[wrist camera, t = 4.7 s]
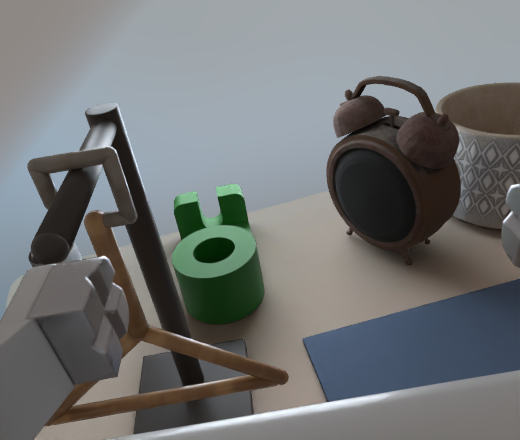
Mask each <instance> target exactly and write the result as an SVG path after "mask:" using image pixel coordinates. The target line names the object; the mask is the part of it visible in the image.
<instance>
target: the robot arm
mask: <svg viewBox="0 0 520 440" xmlns="http://www.w3.org/2000/svg"><path fill="white" fill-rule="evenodd" d="M505 204H506V205H507V206H508V207H509V209H510V210H511V211H512V212H511V213H510V214H509V215H508V216H507V218H506V219H505V220H504V221H503V224H502V233H501V237H502V242H503V247H504V250H505V252H506V254H507V256H508V258H509V259H510V260H511V262H512V263H513V264H514V265H515V266H516V267H519V268H520V184H515V185H511V187H510V189H509V190H508V192H507V197H506V203H505ZM114 274H115V270H114V268H113V266H112V264H111V262H110V260H109V259H108V258H107V257H105V256H101V257H94V258H88V259H81V260H75V261H68V262H62V263H57V264H49V265H44V266H38V267H33V268H31V269H29V270H27V272H26V274H25V276H24V277H23V279H22V281H21V283H20V285H19V287H18V289H17V291H16V292H15V294H14V296H13V298H12V300H11V302H10V304H9V306H8V307H7V309H6V311H5V313H4V315H3V317H2V319H1V321H0V440H33V439H34V438H35V437H36V436H37V434H38V433H39V432H40V431H41V429H42V428H43V427H44V426H45V424H46V423H47V422H48V421H49V419H50V418H51V417H52V416H53V414H54V413H55V412H56V411H57V409H58V408H59V407H60V406H61V404H62V403H63V402H64V401H65V399H66V398H67V397H68V396H69V394H70V393H71V392H72V390H73V389H74V388H75V386H74V385H78V384H83V383H88V382H93V381H98V380H103V379H108V378H113V377H117V376H118V372H119V367H120V363H121V358H122V353H123V348H122V346H121V344H120V341H119V340H120V339H121V338H122V337H123V336H124V335H125V334H126V333H127V329H128V324H129V310H128V304H127V300H126V296H125V294H124V292H123V289H122V288H121V287H119V286H118V285H116V284H115V283H113V278H114ZM105 440H520V370H517V371H511V372H505V373H499V374H493V375H487V376H481V377H475V378H469V379H463V380H457V381H451V382H445V383H439V384H433V385H427V386H421V387H415V388H409V389H403V390H397V391H391V392H385V393H379V394H373V395H367V396H361V397H355V398H349V399H343V400H337V401H331V402H325V403H320V404H314V405H308V406H302V407H296V408H290V409H284V410H278V411H272V412H266V413H260V414H254V415H248V416H242V417H236V418H230V419H224V420H218V421H212V422H206V423H200V424H194V425H188V426H182V427H176V428H170V429H164V430H158V431H152V432H146V433H140V434H135V435H129V436H123V437H117V438H111V439H105Z"/></svg>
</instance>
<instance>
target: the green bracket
mask: <svg viewBox="0 0 520 440" xmlns="http://www.w3.org/2000/svg"><path fill="white" fill-rule="evenodd" d="M216 189H217V196H218V201H219V205H220V210H221V212H220V214H219V215H218V216H217V217H215V218H207V217H205V216H204V215H203V214H202V211H201V208H200V203H199V199H198V195H197V192H196V191H195V192H190V193H185V194H180V195H178V196H177V197H176V198H175V200H174V215H175V219H176V222H177V225H178V229H179V233H180V236H181V242H180V243H179V244H178V245H177V246H176V248H175V249H174V251H173V254H172V263H173V266H174V270H175V273H176V276H177V279H178V282H179V286H180V289H181V292H182V295H183V298H184V302H185V305H186V308H187V310H188V312H189V314H190V315H191V316H192V317H193V318H195V319H196V320H198V321H201V322H204V323H208V324H226V323H231V322H234V321H237V320H240V319H242V318H244V317H246V316H247V315H249V314H250V313H252V312H253V311H254V310H255V309H256V308H257V307H258V306H259V304H260V303H261V301H262V299H263V296H264V285H263V279H262V274H261V268H260V263H259V257H258V252H257V246H256V241H255V238H254V237H253V235H252V234H251V231H250V227H249V222H248V217H247V212H246V206H245V201H244V197H243V193H242V189H241V188H240V187H239V186H238V185H236V184H229V185H224V186H220V187H216Z"/></svg>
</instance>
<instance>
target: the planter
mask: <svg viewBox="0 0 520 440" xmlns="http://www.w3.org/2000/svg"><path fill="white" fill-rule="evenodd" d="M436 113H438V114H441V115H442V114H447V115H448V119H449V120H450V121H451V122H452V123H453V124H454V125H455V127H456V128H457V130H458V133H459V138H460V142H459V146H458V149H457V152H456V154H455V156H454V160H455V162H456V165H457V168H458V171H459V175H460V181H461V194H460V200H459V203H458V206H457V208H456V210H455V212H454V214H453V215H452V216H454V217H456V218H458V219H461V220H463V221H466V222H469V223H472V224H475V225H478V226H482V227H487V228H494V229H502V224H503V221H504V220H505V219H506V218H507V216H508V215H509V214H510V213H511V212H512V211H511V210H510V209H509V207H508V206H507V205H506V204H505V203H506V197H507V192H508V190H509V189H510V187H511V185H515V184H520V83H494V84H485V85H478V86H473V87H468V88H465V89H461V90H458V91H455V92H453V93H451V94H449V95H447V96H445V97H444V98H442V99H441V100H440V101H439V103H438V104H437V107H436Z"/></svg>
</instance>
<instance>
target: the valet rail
mask: <svg viewBox="0 0 520 440" xmlns="http://www.w3.org/2000/svg"><path fill="white" fill-rule="evenodd" d="M85 115H86V118H87V121H88V123H89V126H90V130H89V133H88V134H87V137H86V138H85V140H84V142H83V144H82V146H81V148H80V150H79V151H82V150H88V149H94V148H100V147H106V146H109V147H112V148H114V149H115V150H116V152H117V155H118V158H119V161H120V164H121V167H122V170H123V173H124V176H125V179H126V182H127V185H128V188H129V191H130V194H131V197H132V200H133V203H134V206H135V209H136V212H137V220H136V221H135V222H134V223H133V224H128V225H125V226H126V229H127V232H128V234H129V237H130V240H131V242H132V245H133V248H134V251H135V254H136V257H137V259H138V262H139V265H140V268H141V270H142V273H143V276H144V279H145V282H146V284H147V287H148V290H149V293H150V295H151V298H152V301H153V304H154V307H155V309H156V312H157V315H158V318H159V320H160V323H161V326H162V329H163V330H165V331H168V332H171V333H174V334H177V335H180V336H183V337H186V338H189V339H192V337H191V334H190V331H189V328H188V325H187V322H186V318H185V315H184V312H183V309H182V306H181V303H180V299H179V296H178V293H177V290H176V287H175V284H174V280H173V277H172V274H171V271H170V268H169V265H168V262H167V258H166V255H165V252H164V249H163V246H162V243H161V239H160V236H159V233H158V230H157V227H156V224H155V221H154V217H153V214H152V211H151V208H150V205H149V202H148V198H147V195H146V192H145V189H144V186H143V183H142V179H141V176H140V173H139V170H138V167H137V164H136V161H135V157H134V154H133V151H132V148H131V145H130V142H129V139H128V135H127V132H126V129H125V126H124V123H123V119H122V116H121V113H120V110H119V107H118V105H117V104H116V103H104V104H100V105H96V106H93V107H91V108H89V109H88V110H86V112H85ZM102 168H103V165H97V166H91V167H85V168H79V169H74V170H69V171H68V173H67V175H66V177H65V179H64V181H63V183H62V185H61V187H60V189H59V191H58V192H57V194H56V196H55V198H54V200H53V202H52V204H51V206H50V208H49V210H48V212H47V214H46V216H45V218H44V220H43V222H42V224H41V225H40V227H39V229H38V232H37V233H36V235H35V238H34V239H33V241H32V244H31V253H32V255H33V257H34V259H35V260H36V261H38V262H39V263H41V264H43V265H49V264H57V263H62V262H63V261H64V260H65V259H66V258H67V257H68V255H69V253H70V250H71V247H72V245H73V242H74V240H75V237H76V235H77V232H78V229H79V227H80V224H81V222H82V219H83V217H84V214H85V211H86V209H87V206H88V204H89V201H90V199H91V196H92V193H93V191H94V188H95V186H96V183H97V180H98V178H99V175H100V173H101V170H102ZM210 346H213V347H216V348H219V349H222V350H225V351H228V352H231V353H234V354H237V355H240V356H243V357H246V358H248V357H247V348H246V343H245V339H239V340H233V341H227V342H222V343H216V344H211V345H210ZM170 351H171V352H166V353H160V354H155V355H149V356H144V357H143V364H142V372H141V380H140V388H139V394H144V393H150V392H155V391H161V390H167V389H172V388H178V387H184V386H189V385H195V384H201V383H207V382H212V381H218V380H224V379H229V378H235V377H241V376H246V375H247V374H244V373H241V372H238V371H235V370H232V369H229V368H225V367H222V366H219V365H216V364H213V363H210V362H207V361H204V360H200V359H197V358H194V357H191V356H188V355H185V354H182V353H178V352H175V351H172V350H170ZM248 415H254V414H253V405H252V395H251V390H250V391H245V392H239V393H233V394H228V395H222V396H216V397H211V398H205V399H199V400H194V401H188V402H182V403H177V404H171V405H165V406H160V407H154V408H148V409H143V410H137V411H136V418H135V426H134V434H133V435H135V434H140V433H146V432H152V431H158V430H164V429H170V428H176V427H182V426H188V425H194V424H200V423H206V422H212V421H218V420H224V419H230V418H236V417H242V416H248Z"/></svg>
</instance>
